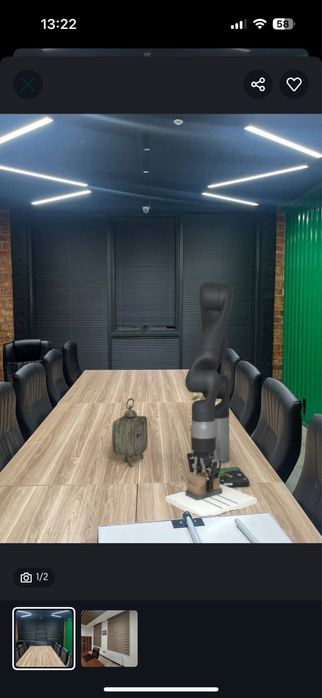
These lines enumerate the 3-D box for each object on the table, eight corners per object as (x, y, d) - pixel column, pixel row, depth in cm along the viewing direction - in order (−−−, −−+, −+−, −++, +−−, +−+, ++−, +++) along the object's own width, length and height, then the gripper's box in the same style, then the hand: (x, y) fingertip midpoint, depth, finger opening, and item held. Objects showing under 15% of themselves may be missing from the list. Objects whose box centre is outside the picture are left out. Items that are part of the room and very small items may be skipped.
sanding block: (197, 500, 149) (196, 480, 149) (185, 495, 154) (185, 476, 154) (222, 493, 155) (221, 474, 155) (210, 488, 160) (210, 470, 159)
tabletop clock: (133, 468, 186) (132, 402, 184) (111, 466, 189) (110, 400, 187) (147, 458, 199) (147, 395, 198) (127, 456, 203) (126, 394, 201)
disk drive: (250, 488, 165) (238, 474, 180) (250, 480, 165) (238, 466, 180) (219, 490, 164) (210, 475, 179) (219, 482, 164) (210, 467, 179)
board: (165, 501, 153) (165, 496, 153) (216, 487, 166) (216, 482, 165) (203, 520, 139) (203, 515, 139) (257, 503, 151) (257, 498, 151)
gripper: (228, 437, 150) (228, 493, 151) (197, 429, 162) (198, 481, 163) (209, 440, 146) (210, 498, 147) (179, 432, 157) (179, 486, 158)
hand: (203, 489), depth 155 cm, fingers closed on sanding block, 4 cm apart
